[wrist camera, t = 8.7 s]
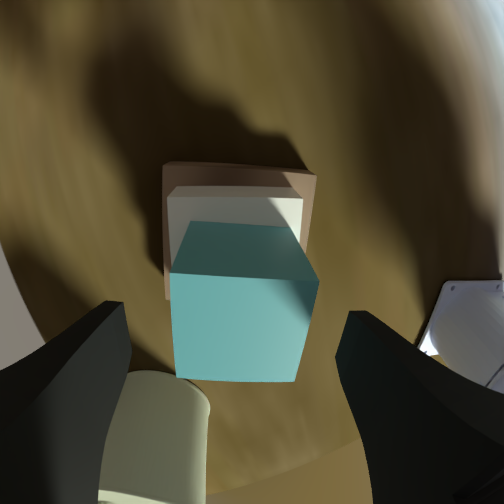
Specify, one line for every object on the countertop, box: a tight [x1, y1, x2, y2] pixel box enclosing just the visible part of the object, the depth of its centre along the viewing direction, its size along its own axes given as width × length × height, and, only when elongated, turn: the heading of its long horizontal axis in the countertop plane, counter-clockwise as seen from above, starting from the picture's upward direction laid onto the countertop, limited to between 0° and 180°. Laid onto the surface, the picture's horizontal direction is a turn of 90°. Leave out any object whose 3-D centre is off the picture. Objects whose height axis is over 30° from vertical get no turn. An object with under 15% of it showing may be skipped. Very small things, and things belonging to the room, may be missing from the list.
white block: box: [167, 186, 303, 265], centre depth 15 cm, size 6×6×2 cm
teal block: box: [170, 221, 319, 382], centre depth 12 cm, size 4×4×5 cm
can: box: [98, 370, 210, 504], centre depth 19 cm, size 9×9×12 cm
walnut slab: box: [162, 161, 317, 300], centre depth 18 cm, size 8×8×2 cm
